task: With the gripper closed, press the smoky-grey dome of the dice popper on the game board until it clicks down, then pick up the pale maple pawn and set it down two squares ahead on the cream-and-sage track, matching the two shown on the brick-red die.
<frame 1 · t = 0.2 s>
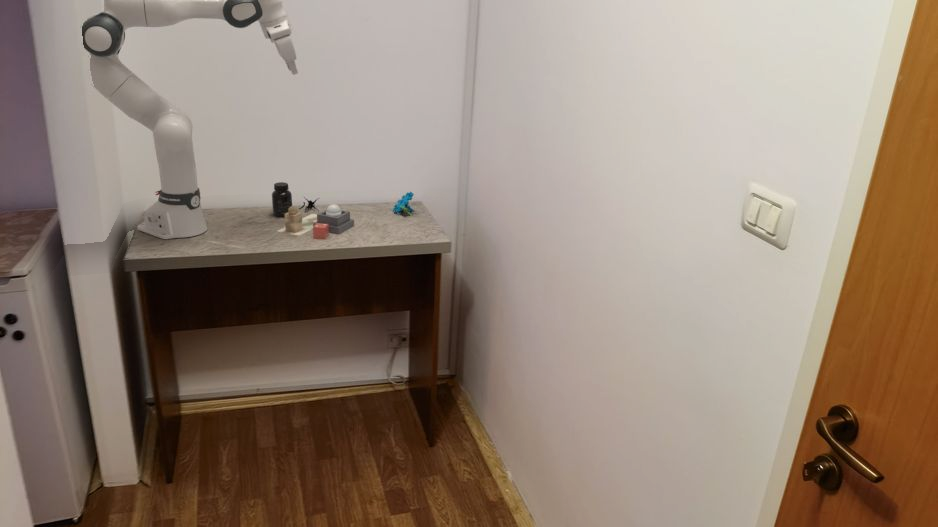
hand: (293, 71, 229), 52 cm above the table, tool tilted 20°, fingers open, 8 cm apart
creature: (309, 212, 261), on the table
blue lobed plastic figure: (403, 212, 266), on the table
pawn: (294, 230, 240), point 1 cm above the table, touching board
supplement bottle: (282, 216, 255), on the table
board: (318, 228, 245), on the table
dome: (333, 211, 242), point 7 cm above the table, slide at 0.0 cm
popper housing: (334, 229, 245), resting on board
die: (321, 236, 236), point 1 cm above the table, touching board
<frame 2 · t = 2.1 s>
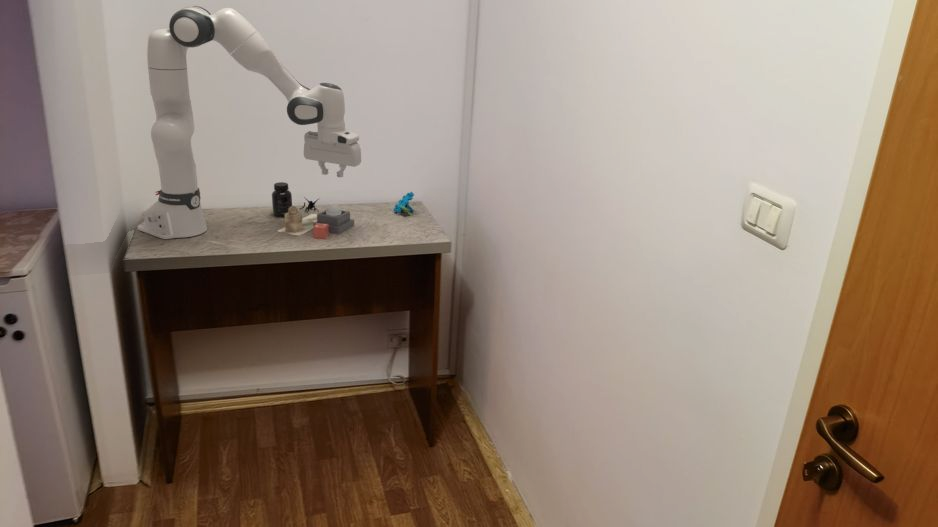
hand: (332, 175, 238), 19 cm above the table, tool pointing down, fingers open, 4 cm apart
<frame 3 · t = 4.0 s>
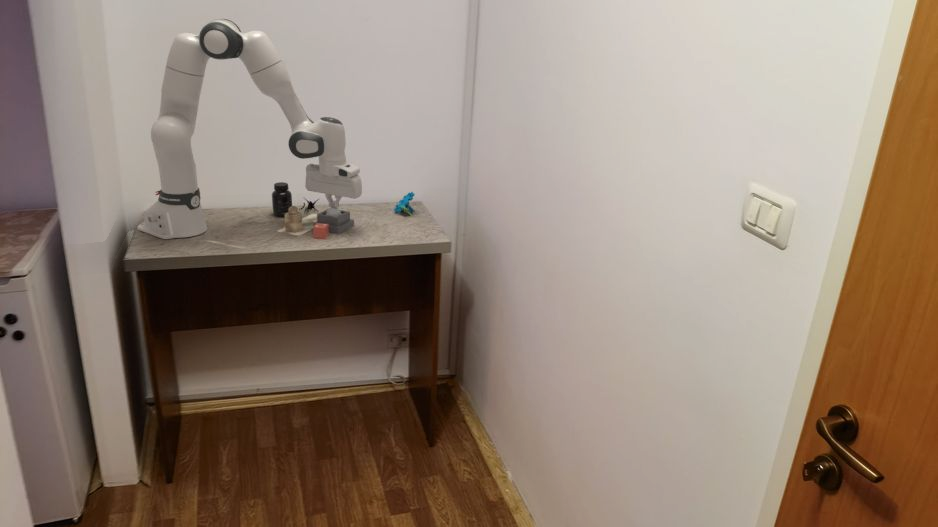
hand: (333, 206, 242), 8 cm above the table, tool pointing down, fingers closed, pressing on dome
dome: (333, 213, 243), point 6 cm above the table, slide at -0.8 cm, touching gripper
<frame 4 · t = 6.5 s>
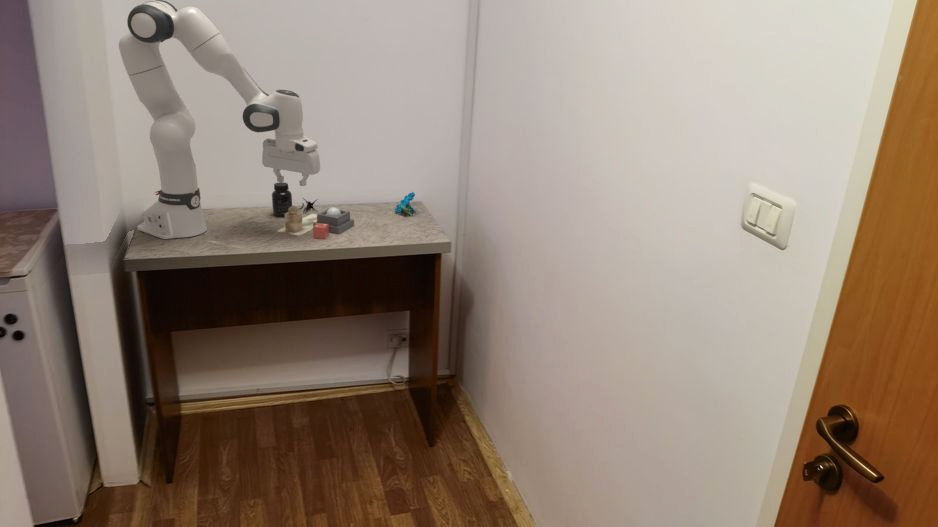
hand: (291, 183, 234), 17 cm above the table, tool pointing down, fingers open, 7 cm apart
dome: (333, 214, 243), point 5 cm above the table, slide at -1.1 cm
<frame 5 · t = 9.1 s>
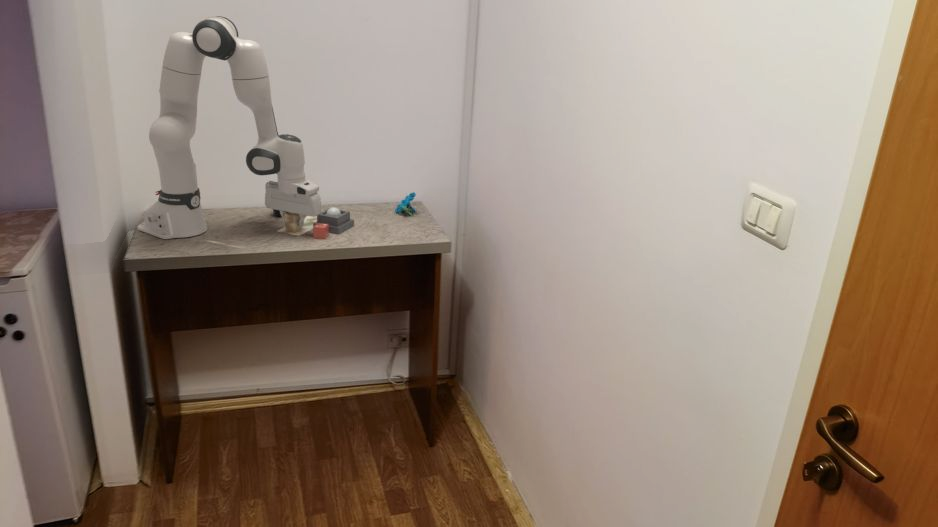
hand: (293, 224, 239), 3 cm above the table, tool pointing down, fingers closed on pawn, 4 cm apart
pawn: (293, 230, 240), point 1 cm above the table, touching board, gripper
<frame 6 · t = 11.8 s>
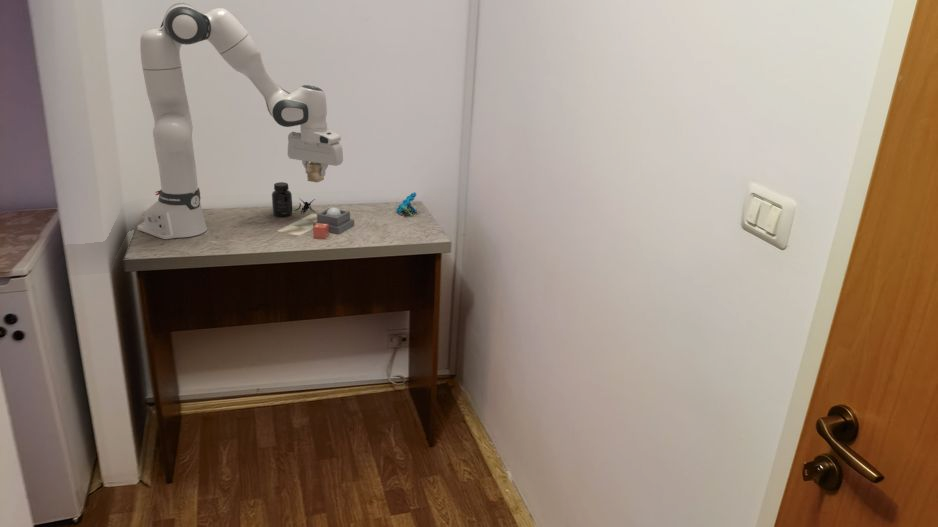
hand: (315, 174, 246), 17 cm above the table, tool pointing down, fingers closed on pawn, 4 cm apart
pawn: (315, 180, 247), point 15 cm above the table, touching gripper
when the fingers open (5 cm above the table, at t = 14.7 s): pawn drops 2 cm, resting on board.
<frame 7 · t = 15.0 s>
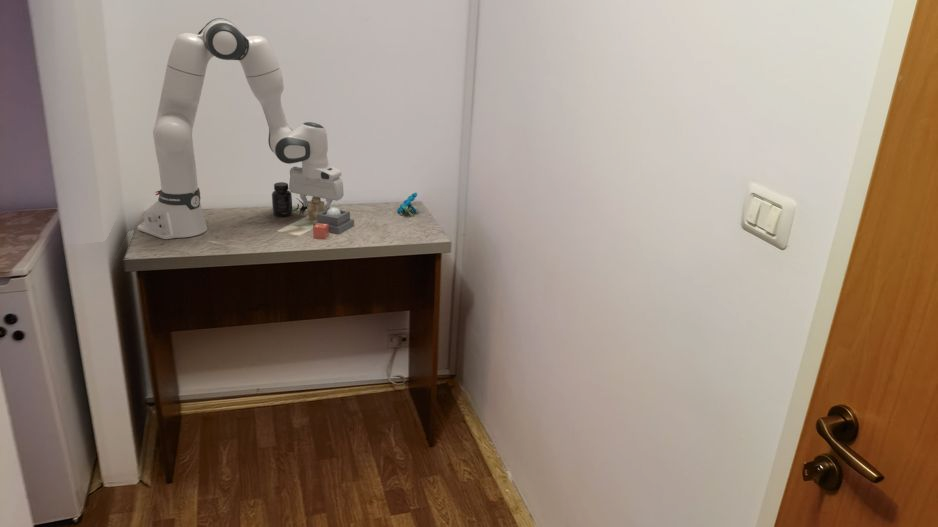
hand: (316, 208, 251), 5 cm above the table, tool pointing down, fingers open, 7 cm apart
pawn: (316, 218, 252), point 1 cm above the table, touching board
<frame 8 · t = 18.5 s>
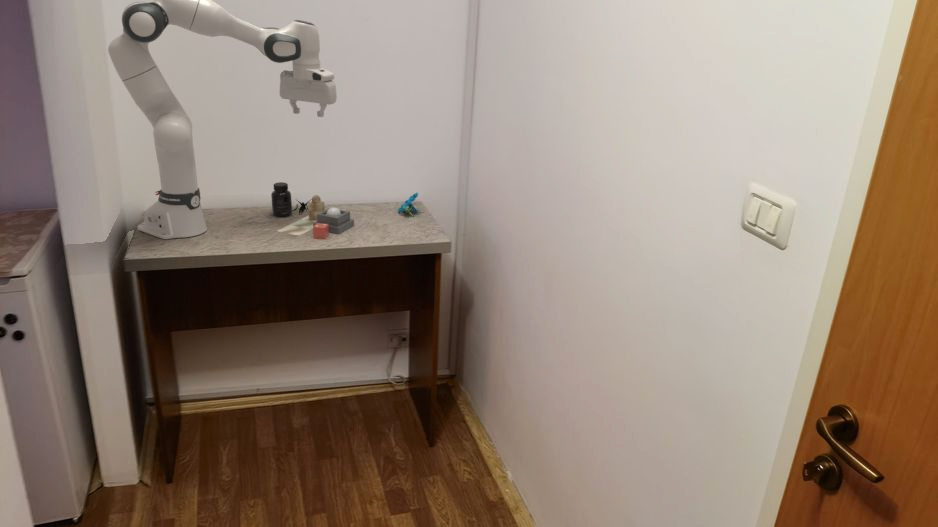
hand: (308, 115, 239), 37 cm above the table, tool pointing down, fingers open, 8 cm apart
at the end: dome slide at -1.1 cm; pawn inside the target area (0.3 cm from its centre), point 0.8 cm above the table; pawn tilted 0° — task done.
